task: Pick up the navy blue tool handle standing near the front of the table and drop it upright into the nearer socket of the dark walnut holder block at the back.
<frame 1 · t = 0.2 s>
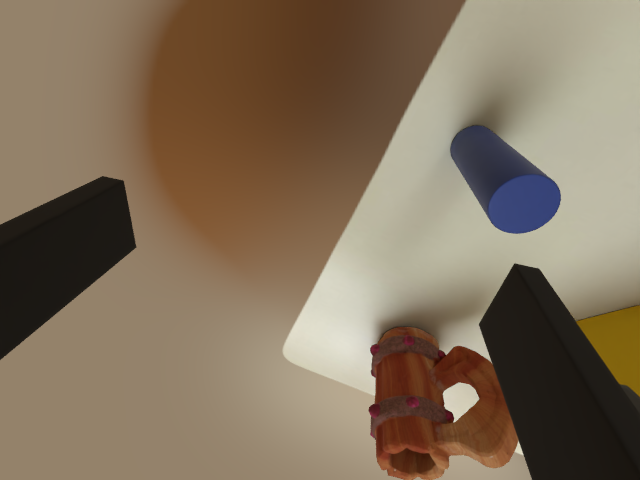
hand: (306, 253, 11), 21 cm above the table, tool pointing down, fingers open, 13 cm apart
mug: (423, 334, 40), on the table
alarm clock: (582, 344, 37), on the table
handle: (472, 146, 28), on the table
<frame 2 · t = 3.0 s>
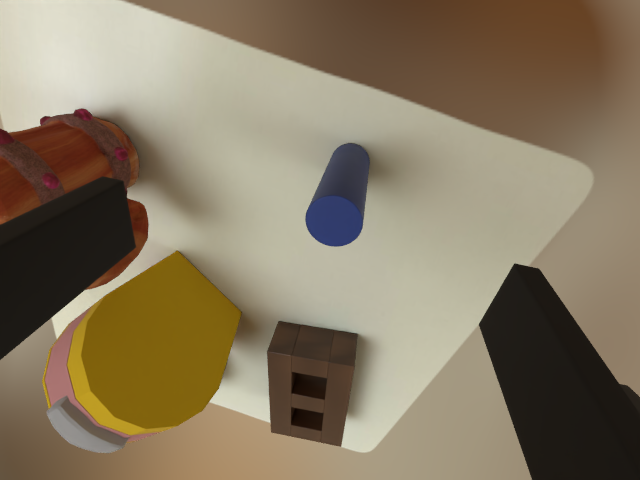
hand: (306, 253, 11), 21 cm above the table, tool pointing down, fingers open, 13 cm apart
mug: (132, 167, 35), on the table
holder: (314, 371, 47), on the table
alarm clock: (192, 294, 43), on the table
handle: (350, 162, 30), on the table
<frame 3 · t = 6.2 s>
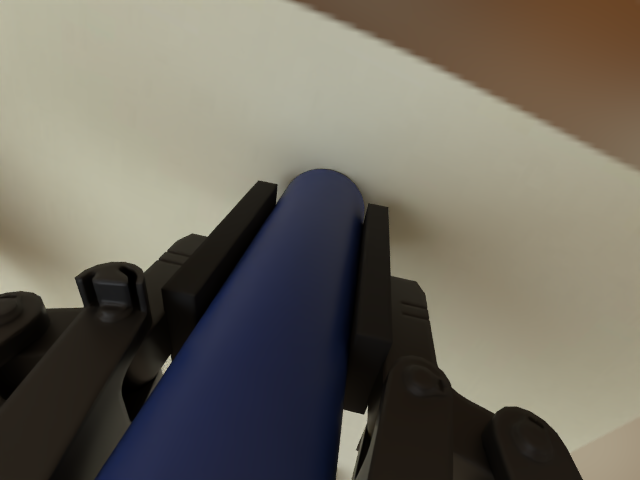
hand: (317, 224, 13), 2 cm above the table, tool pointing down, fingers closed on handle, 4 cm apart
handle: (323, 207, 14), on the table, touching gripper
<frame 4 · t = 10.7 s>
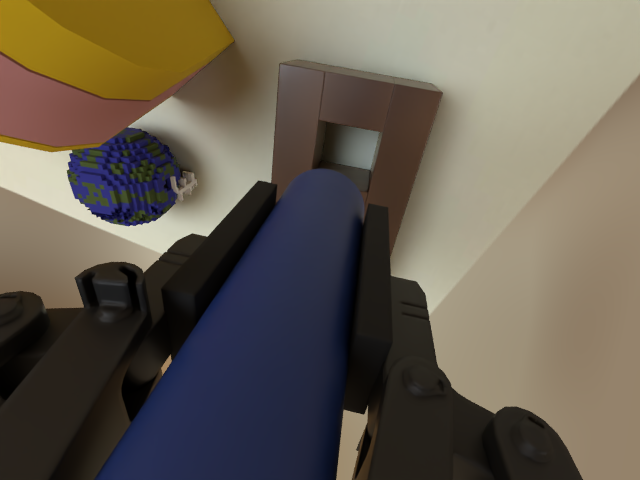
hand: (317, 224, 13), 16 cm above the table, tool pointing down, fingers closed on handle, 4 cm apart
holder: (342, 181, 29), on the table
alarm clock: (149, 0, 25), on the table
handle: (323, 207, 14), point 15 cm above the table, touching gripper
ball: (157, 163, 32), on the table
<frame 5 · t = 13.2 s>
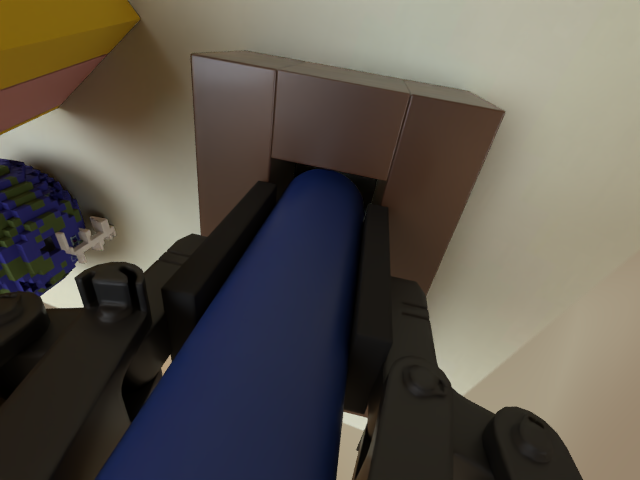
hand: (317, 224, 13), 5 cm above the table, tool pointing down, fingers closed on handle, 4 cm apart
holder: (324, 236, 19), on the table
handle: (323, 207, 14), point 4 cm above the table, touching gripper
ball: (57, 203, 22), on the table
when the fingers open (5 cm above the table, at t = 15.5 s): handle drops 3 cm, point 1 cm above the table.
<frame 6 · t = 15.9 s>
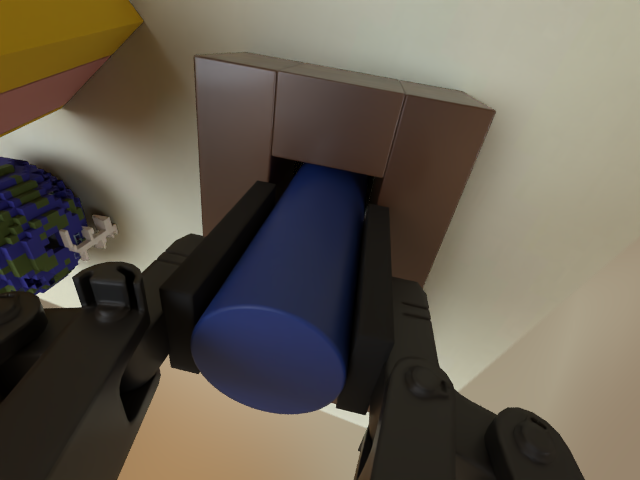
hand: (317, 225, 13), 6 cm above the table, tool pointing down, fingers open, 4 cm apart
holder: (322, 233, 20), on the table
handle: (333, 178, 17), point 1 cm above the table, touching gripper
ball: (60, 201, 22), on the table
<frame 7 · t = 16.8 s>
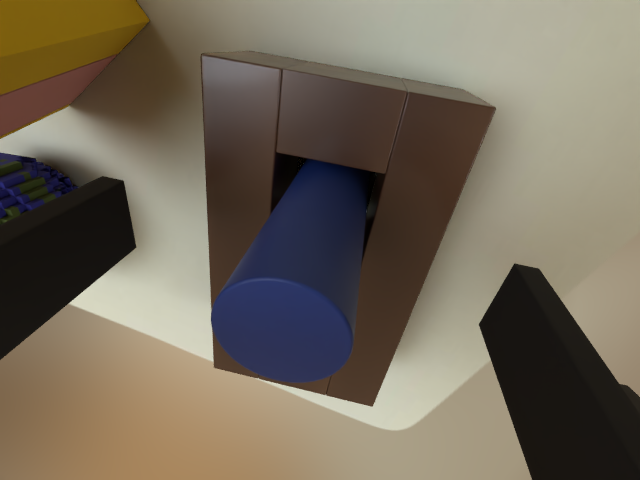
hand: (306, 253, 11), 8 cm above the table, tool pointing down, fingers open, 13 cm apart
holder: (325, 229, 20), on the table
handle: (337, 172, 18), resting in holder
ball: (66, 198, 22), on the table
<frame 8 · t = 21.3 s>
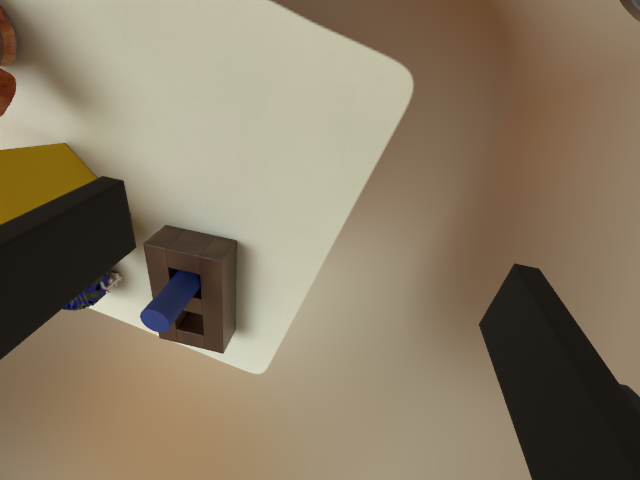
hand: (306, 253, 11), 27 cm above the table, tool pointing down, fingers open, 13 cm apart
mug: (13, 47, 36), on the table
holder: (203, 281, 50), on the table
alarm clock: (83, 193, 45), on the table
handle: (203, 262, 48), resting in holder
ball: (97, 266, 52), on the table
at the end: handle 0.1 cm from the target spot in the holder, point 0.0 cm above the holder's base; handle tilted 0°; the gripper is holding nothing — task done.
